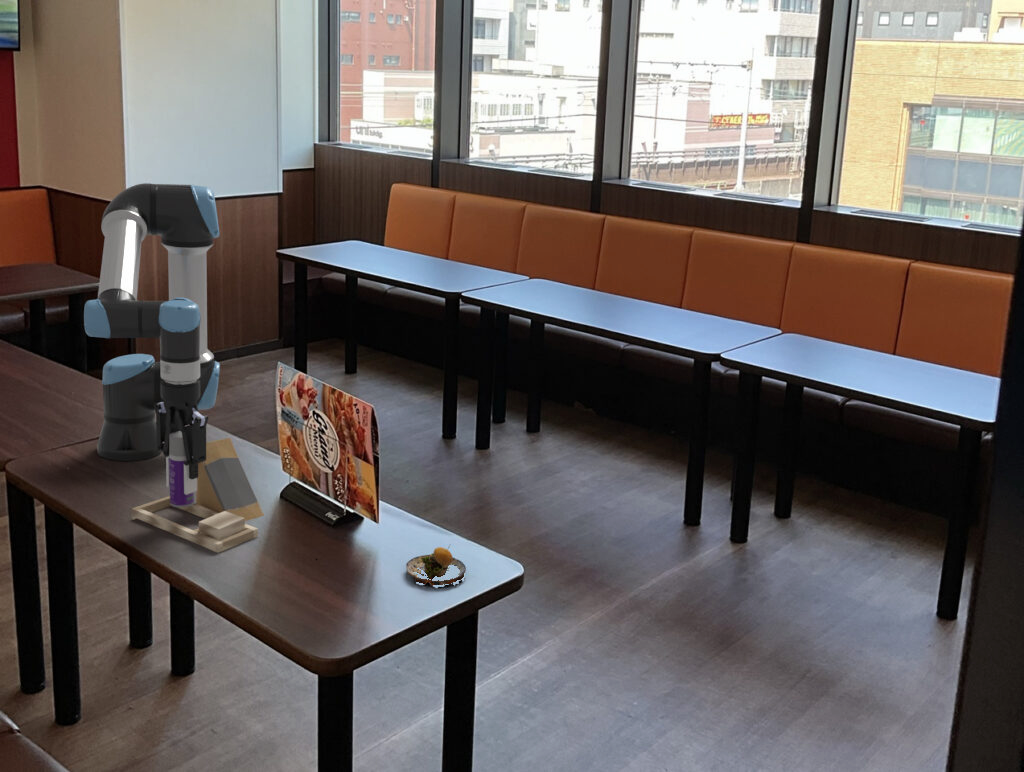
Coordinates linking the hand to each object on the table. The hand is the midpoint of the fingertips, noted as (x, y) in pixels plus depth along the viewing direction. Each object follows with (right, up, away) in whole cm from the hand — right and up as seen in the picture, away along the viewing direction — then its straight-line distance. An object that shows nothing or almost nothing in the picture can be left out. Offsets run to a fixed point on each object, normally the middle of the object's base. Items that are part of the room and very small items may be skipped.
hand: (181, 488), depth 220 cm
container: (0, -3, +1) cm, 3 cm away
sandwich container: (+8, -7, +9) cm, 14 cm away
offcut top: (+10, -8, -5) cm, 13 cm away
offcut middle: (+10, -10, -4) cm, 14 cm away
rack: (+2, -9, 0) cm, 9 cm away
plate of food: (+52, -16, -10) cm, 56 cm away
